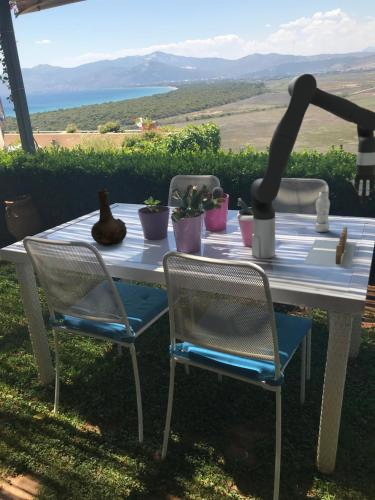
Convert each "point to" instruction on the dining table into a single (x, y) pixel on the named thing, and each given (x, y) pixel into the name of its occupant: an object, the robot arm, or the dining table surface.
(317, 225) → the plastic bottle
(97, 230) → the brown long-necked vase
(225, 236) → the dining table surface
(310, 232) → the dining table surface
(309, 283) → the dining table surface
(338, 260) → the fence fixed
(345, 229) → the fence gate
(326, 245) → the card
